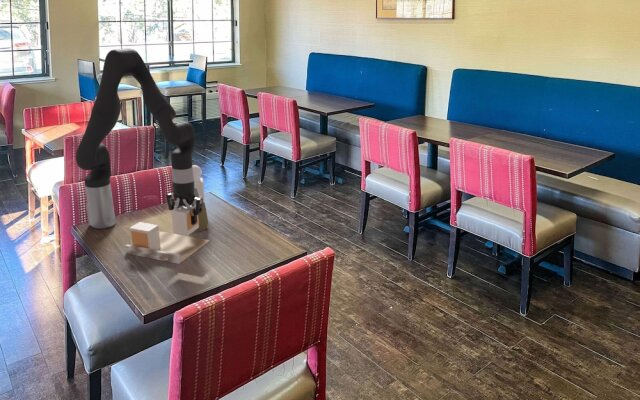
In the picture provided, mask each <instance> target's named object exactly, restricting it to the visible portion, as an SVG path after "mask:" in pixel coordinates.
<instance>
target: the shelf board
mask: <svg viewBox="0 0 640 400" xmlns="http://www.w3.org/2000/svg"><path fill="white" fill-rule="evenodd" d="M159 237H160V246H161V248H160V249H159V250H154V249H149V248H143V247H138V246H133V245H131V244H125V246H124V248H125V254H128V255H133V256H137V257H144V258H148V259H154V260H159V261H163V262H168V263H173V264H181V263H182V262H184V261H185V260H186V259H188V258H189V257H190V256H191V255H193V254H195V253H196V252H197V251H198V250H199V249H201V248H202V247H203V246H204V245H206V244H207V243H209V242H210V241H211V240H209V239H205V238H201V237H200V238H199V237H196V236H195V237H193V236H189V235H188V236H183V235H178V234H173V232H172V233H171V232H166V231H161V230H159Z"/></svg>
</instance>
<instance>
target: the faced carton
mask: <svg viewBox="0 0 640 400" xmlns="http://www.w3.org/2000/svg"><path fill="white" fill-rule="evenodd" d="M159 229H160V228H159V225H158V224H155V223H154V224H153V223H147V222H142V221H139V222H136V223H135V224H134V225H132V226H130V227H129V229H128V230H129V236H130V245H133V246H138V247H143V248H149V249H154V250H159V249H160V248H161V246H160V237H159V232H160V230H159Z"/></svg>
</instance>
